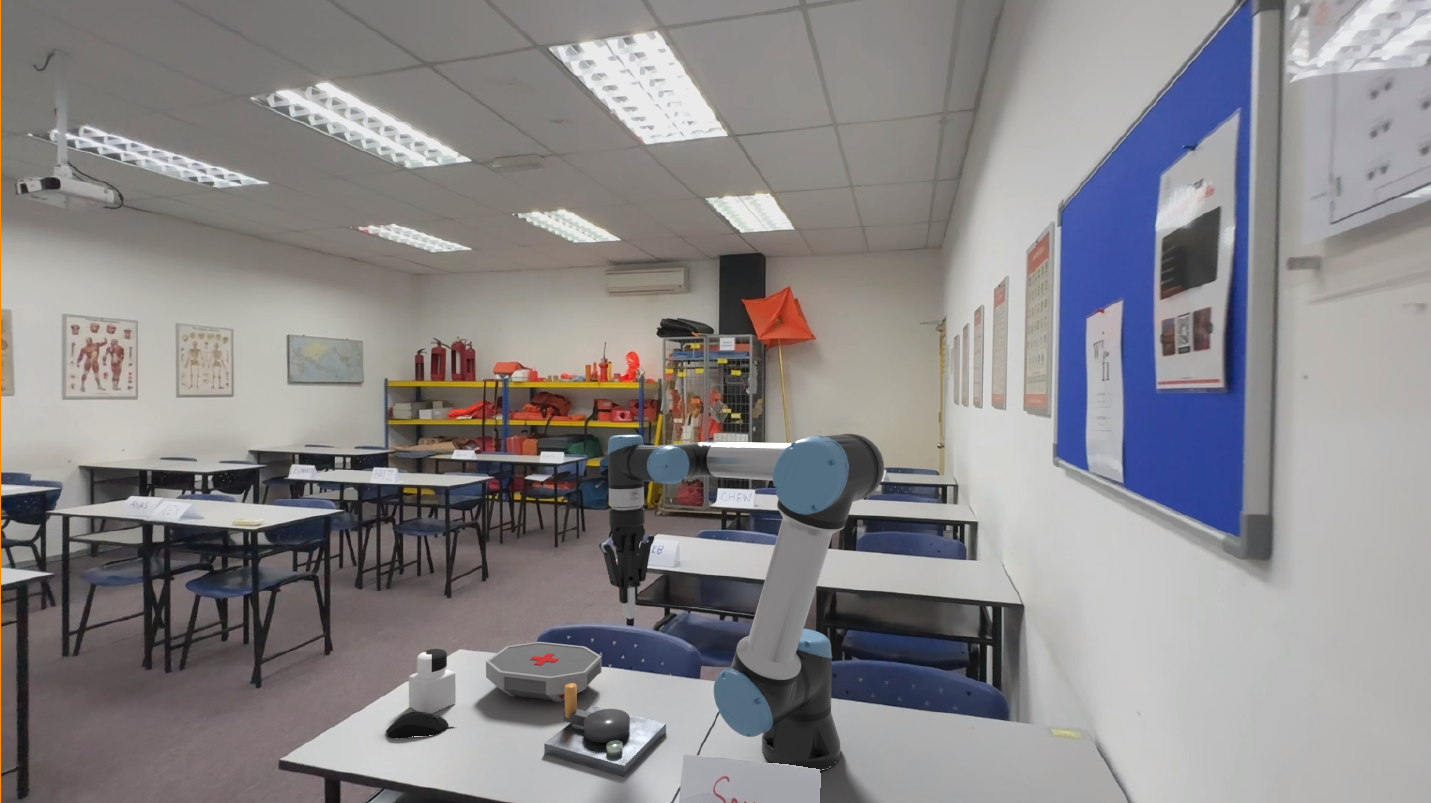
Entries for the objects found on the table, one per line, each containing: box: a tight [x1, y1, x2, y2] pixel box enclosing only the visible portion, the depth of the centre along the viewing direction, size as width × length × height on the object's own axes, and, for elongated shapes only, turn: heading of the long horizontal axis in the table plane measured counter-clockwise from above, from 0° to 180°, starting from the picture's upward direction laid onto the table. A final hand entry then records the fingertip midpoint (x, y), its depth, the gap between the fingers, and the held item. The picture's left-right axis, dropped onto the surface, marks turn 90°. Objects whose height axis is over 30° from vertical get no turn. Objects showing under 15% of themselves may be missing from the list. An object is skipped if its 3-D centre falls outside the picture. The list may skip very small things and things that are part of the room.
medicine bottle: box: [408, 648, 457, 714], centre depth 140 cm, size 7×7×12 cm
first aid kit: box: [485, 641, 603, 703], centre depth 147 cm, size 18×8×25 cm
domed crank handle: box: [563, 683, 630, 743], centre depth 126 cm, size 15×9×7 cm, turn 64°
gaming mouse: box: [385, 711, 456, 740], centre depth 130 cm, size 6×15×4 cm, turn 96°
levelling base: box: [543, 705, 667, 778], centre depth 125 cm, size 18×16×3 cm
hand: (628, 616), depth 135 cm, fingers closed
